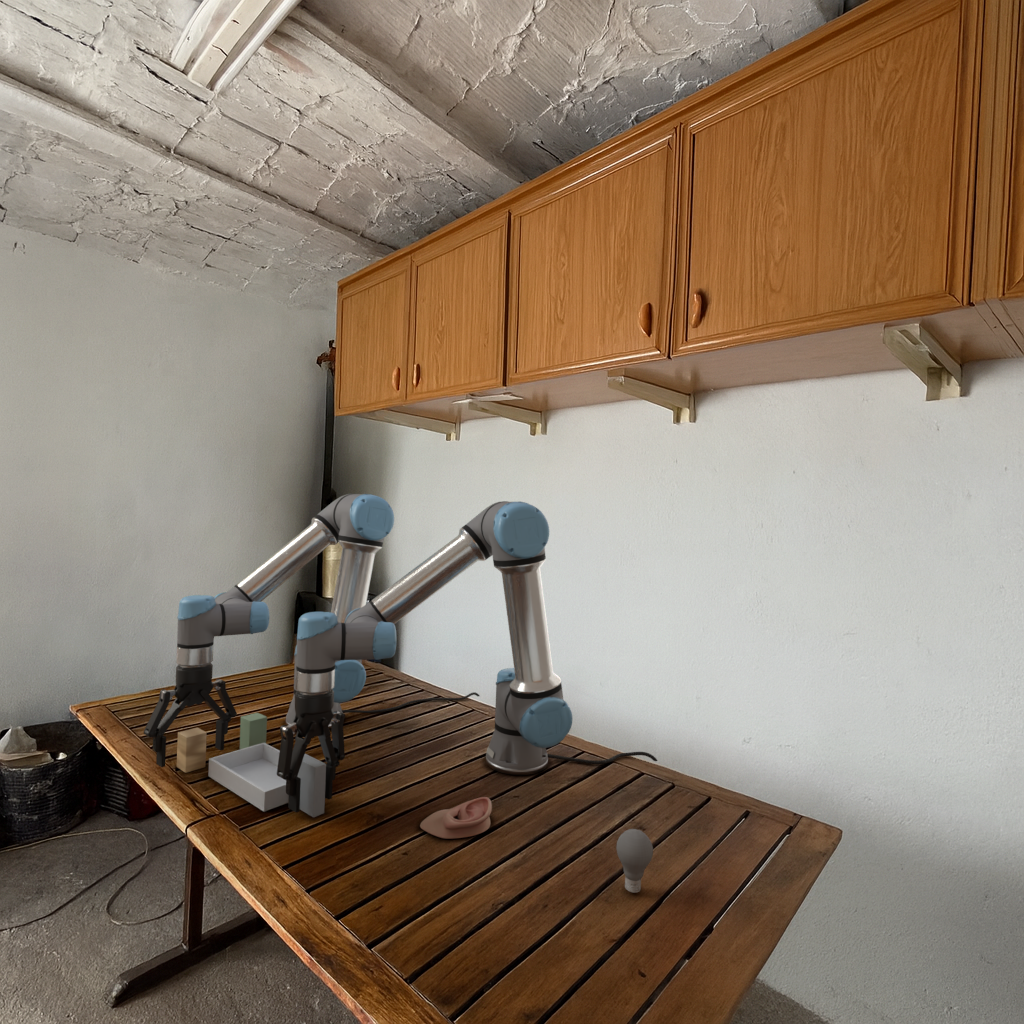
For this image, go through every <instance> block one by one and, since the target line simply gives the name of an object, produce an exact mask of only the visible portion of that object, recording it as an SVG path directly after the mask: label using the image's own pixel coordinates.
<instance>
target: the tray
mask: <svg viewBox="0 0 1024 1024" xmlns="http://www.w3.org/2000/svg"><path fill="white" fill-rule="evenodd" d="M279 753H280V749H278V748H276V747H274V746H271V745H269V744H268V743H267V742H266V743H261V744H257V745H254V746H251V747H247V748H244V749H240V748H239V749H238V750H234V751H231V752H227V753H223V754H220V755H216V756H214V757H210V758H208V775H207V776H208V777H209V778H210V779H212V780H214V782H216V783H218V784H219V785H221V786H222V787H224V788H226V789H228V790H229V791H231V792H232V793H233V794H236V795H237V796H238V797H240V798H241V799H243V800H244V801H246V802H248V803H250V805H253V806H254V807H256V808H257V809H259V810H260V811H262V812H264V813H265V812H267V811H270V810H272V809H276V808H278V807H280V806H283V805H286V804H289V795H288V794H286V780H284V779H283V778H281V777H279V776H277V768H278V760H279ZM325 763H326V762H323V761H321V760H319V759H317V758H315V757H313V756H311V755H309V754H307V753H305V754H304V757H303V761H302V764H301V767H300V770H299V773H298V776H297V777H299V778H301V785H300V811H301V812H304V813H305V814H307V815H308V816H310V817H312V818H316V817H319V816H322V815H324V814H325V805H326V804H325V803H326V798H325V780H326V764H327V763H326V764H325Z"/></svg>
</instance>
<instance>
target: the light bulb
mask: <svg viewBox="0 0 1024 1024" xmlns="http://www.w3.org/2000/svg"><path fill="white" fill-rule="evenodd" d="M615 849H616V854H617V857H618V859H619V861H620V863H621V865H622V867H623V873H624V874H623V875H624V876H625V878H624V888H625V890H627V891H628V892H630V893H634V894H635V893H639V892H640V891H641V889H642V887H641V886H642V879H643V877H644V875H645V871H646V868H647V867H648V866H649V864H650V863H651V861H652V859H653V855H654V847H653V843H652V841H651V838H649V836H648V835H647V834H646V833H645V832H643V831H642V830H641V829H636V828H629V829H627V830H625V831H623V832H622V833H621V834H620V835H619V837H618V839H617V841H616V847H615Z"/></svg>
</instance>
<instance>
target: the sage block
mask: <svg viewBox="0 0 1024 1024" xmlns="http://www.w3.org/2000/svg"><path fill="white" fill-rule="evenodd" d="M239 725H240V726H239V750H240V749H244V748H247V747H251V746H254V745H257V744H261V743H266V744H267V733H268V732H267V729H268V716H266V715H265V714H262V713H259V712H255V713H251V714H247V715H246V714H245V715H242V716H240V724H239Z"/></svg>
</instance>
